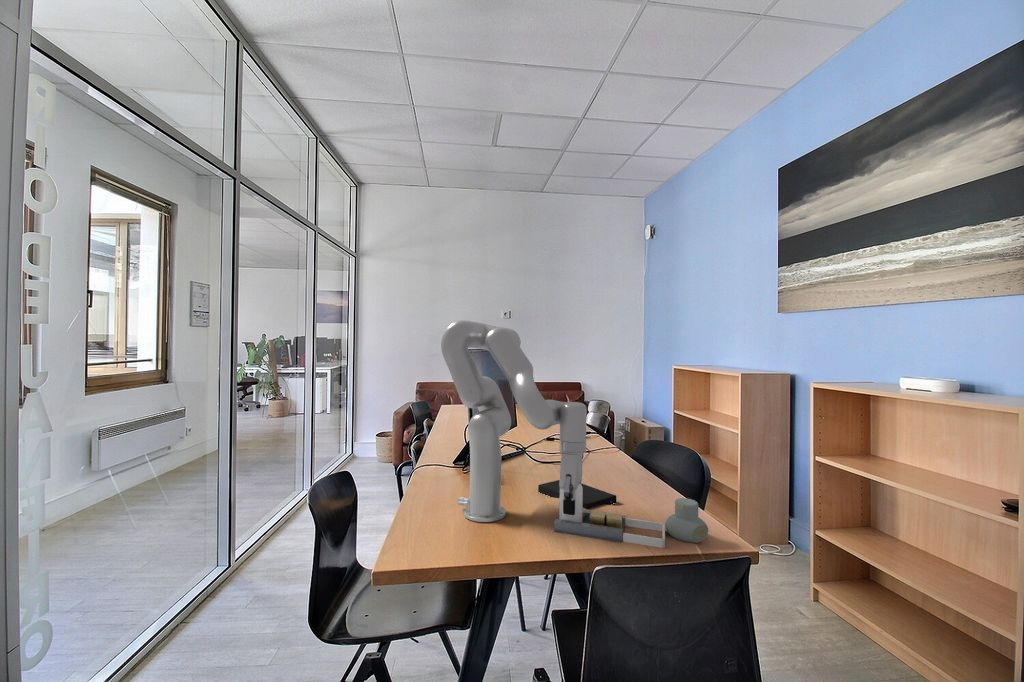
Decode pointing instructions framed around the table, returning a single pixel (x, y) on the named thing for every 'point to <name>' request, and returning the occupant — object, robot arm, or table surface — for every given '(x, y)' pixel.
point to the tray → (645, 539)
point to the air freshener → (686, 522)
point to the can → (578, 505)
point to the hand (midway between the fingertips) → (571, 509)
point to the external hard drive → (590, 494)
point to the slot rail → (590, 528)
